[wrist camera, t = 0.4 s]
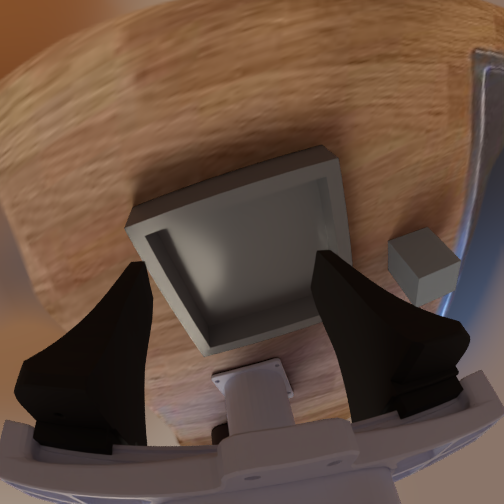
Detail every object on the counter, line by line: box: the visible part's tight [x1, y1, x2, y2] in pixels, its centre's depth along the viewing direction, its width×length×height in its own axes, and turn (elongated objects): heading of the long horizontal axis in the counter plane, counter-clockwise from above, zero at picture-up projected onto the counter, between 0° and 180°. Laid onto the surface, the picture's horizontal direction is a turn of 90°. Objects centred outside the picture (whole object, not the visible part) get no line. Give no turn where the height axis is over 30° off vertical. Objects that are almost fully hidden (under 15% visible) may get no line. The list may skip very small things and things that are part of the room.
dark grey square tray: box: [124, 145, 353, 357], centre depth 24 cm, size 14×14×3 cm
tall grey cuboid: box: [388, 227, 461, 307], centre depth 25 cm, size 4×4×6 cm
